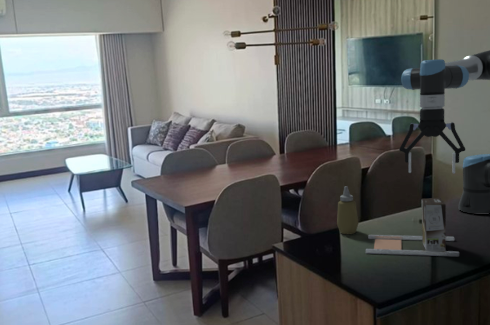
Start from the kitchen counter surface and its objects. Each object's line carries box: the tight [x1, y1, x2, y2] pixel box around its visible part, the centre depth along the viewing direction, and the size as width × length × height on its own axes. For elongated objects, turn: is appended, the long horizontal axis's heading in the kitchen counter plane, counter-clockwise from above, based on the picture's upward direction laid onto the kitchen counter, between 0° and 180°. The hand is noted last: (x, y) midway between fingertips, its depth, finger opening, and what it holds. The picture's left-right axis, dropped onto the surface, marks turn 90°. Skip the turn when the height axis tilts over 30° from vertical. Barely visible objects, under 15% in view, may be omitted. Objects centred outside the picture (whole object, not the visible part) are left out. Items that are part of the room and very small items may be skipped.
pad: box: [373, 239, 402, 250], centre depth 173 cm, size 9×11×1 cm
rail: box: [365, 234, 460, 257], centre depth 171 cm, size 29×16×1 cm, turn 73°
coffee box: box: [421, 197, 447, 251], centre depth 167 cm, size 9×6×16 cm
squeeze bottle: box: [336, 185, 359, 235], centre depth 189 cm, size 8×8×18 cm
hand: (431, 172), depth 165 cm, fingers open, 13 cm apart
